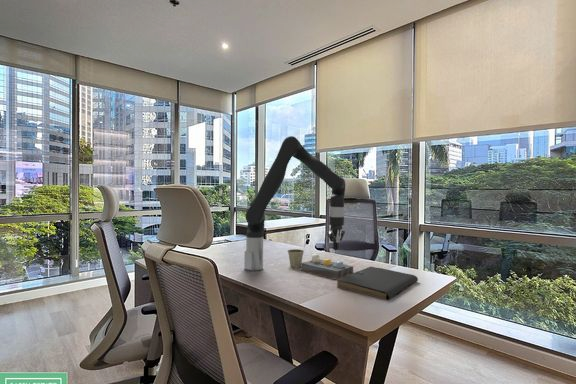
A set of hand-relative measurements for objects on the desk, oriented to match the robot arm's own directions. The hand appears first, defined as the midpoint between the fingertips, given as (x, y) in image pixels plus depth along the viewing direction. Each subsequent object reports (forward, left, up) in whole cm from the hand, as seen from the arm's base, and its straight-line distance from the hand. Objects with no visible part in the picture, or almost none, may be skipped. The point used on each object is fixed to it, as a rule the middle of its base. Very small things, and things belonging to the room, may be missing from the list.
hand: (335, 249), depth 153 cm
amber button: (0, +6, -11) cm, 12 cm away
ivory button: (0, +13, -10) cm, 16 cm away
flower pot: (-2, +26, -13) cm, 29 cm away
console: (0, +6, -13) cm, 14 cm away
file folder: (0, -23, -13) cm, 26 cm away
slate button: (0, -2, -11) cm, 11 cm away
